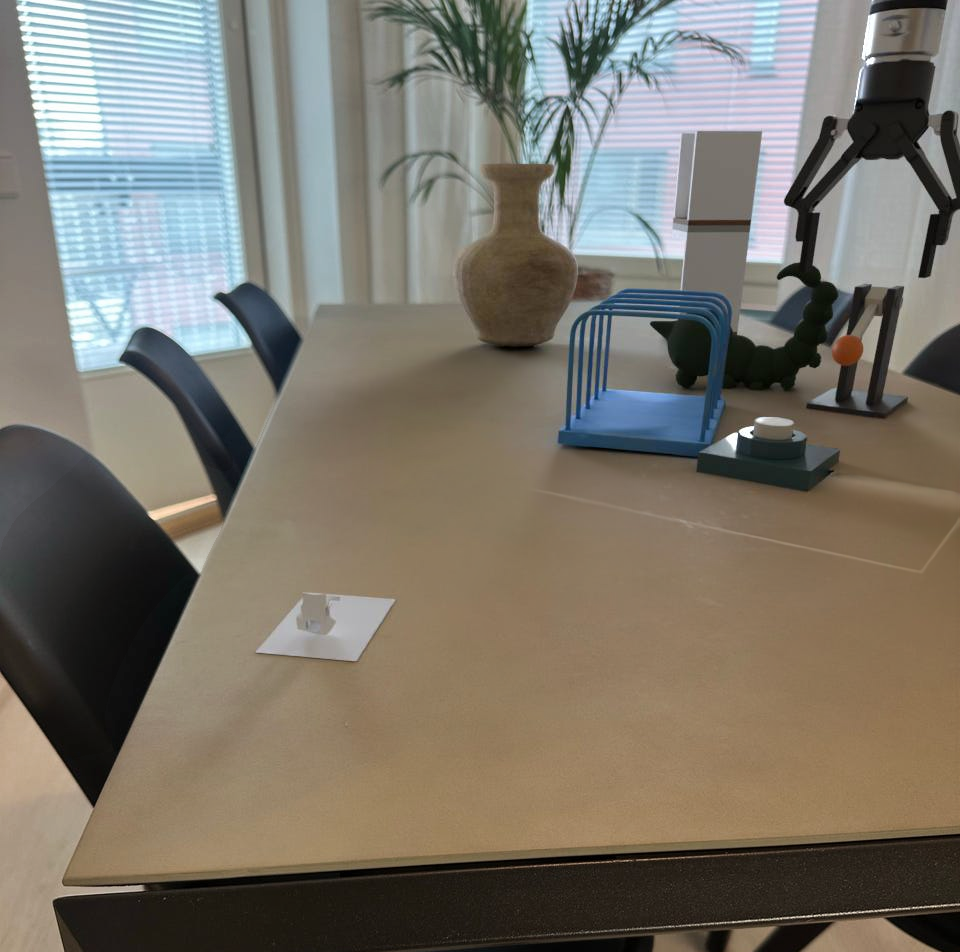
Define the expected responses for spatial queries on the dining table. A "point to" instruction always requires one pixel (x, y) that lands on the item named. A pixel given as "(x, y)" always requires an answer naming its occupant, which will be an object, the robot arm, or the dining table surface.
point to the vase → (515, 264)
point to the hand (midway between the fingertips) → (862, 274)
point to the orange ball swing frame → (874, 399)
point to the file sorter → (646, 414)
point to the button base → (769, 460)
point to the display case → (716, 211)
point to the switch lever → (859, 329)
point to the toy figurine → (743, 357)
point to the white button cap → (773, 428)
